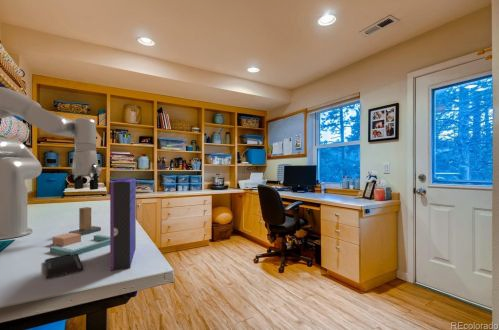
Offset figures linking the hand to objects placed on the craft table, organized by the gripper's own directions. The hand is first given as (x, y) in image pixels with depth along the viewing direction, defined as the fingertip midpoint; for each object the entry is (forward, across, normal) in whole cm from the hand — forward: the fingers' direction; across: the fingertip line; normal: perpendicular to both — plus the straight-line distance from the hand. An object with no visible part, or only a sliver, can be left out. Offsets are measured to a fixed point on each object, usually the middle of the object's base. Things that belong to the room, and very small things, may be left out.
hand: (86, 189), depth 101 cm
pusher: (+18, -1, 0) cm, 19 cm away
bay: (+18, +16, -11) cm, 27 cm away
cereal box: (+19, +38, -13) cm, 44 cm away
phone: (+19, +27, -24) cm, 41 cm away
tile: (+19, +6, -11) cm, 23 cm away
